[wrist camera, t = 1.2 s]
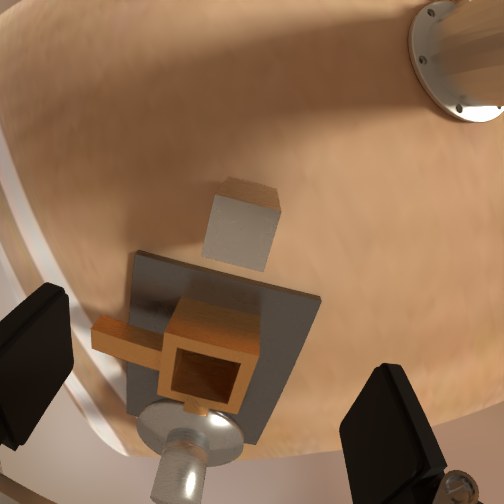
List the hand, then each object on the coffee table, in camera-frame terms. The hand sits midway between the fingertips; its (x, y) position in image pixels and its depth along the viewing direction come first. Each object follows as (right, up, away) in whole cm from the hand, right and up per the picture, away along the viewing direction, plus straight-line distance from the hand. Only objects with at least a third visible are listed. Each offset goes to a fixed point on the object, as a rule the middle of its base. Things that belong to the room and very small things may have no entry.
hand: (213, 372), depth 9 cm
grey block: (+1, +8, +19) cm, 21 cm away
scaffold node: (-5, -9, +26) cm, 28 cm away
